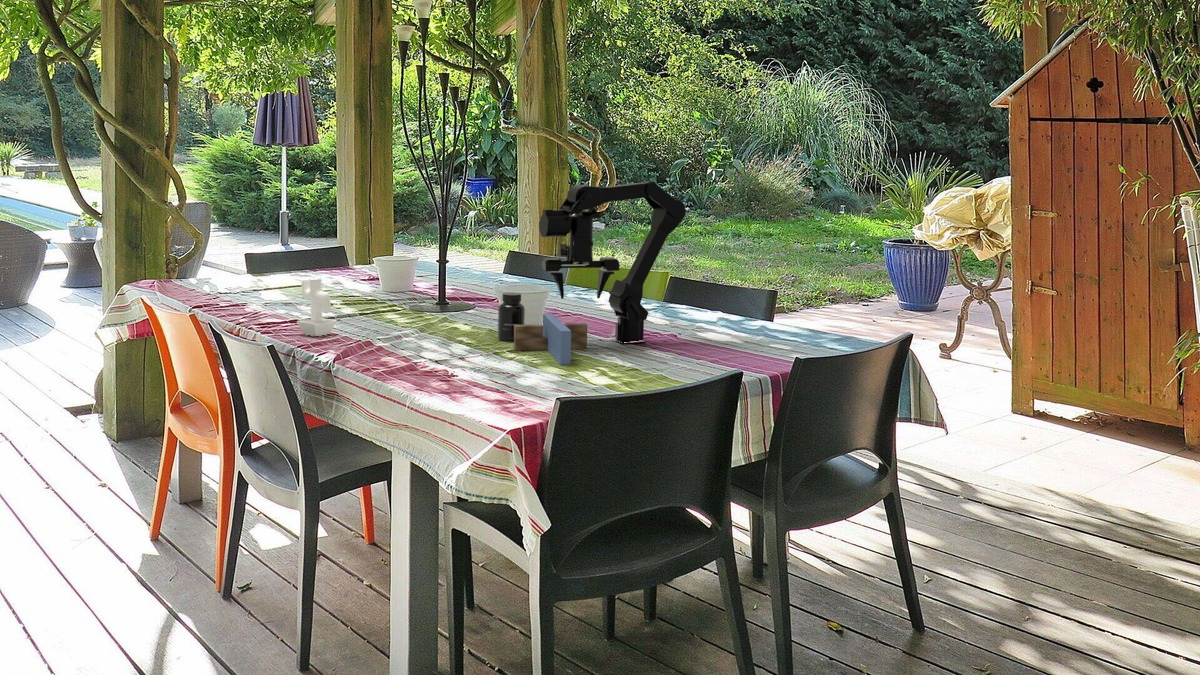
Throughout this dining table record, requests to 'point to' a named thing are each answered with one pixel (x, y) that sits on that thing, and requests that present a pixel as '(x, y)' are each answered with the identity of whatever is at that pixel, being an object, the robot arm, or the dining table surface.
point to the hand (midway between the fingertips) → (580, 298)
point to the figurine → (316, 308)
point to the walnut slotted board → (534, 339)
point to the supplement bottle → (510, 316)
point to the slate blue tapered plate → (557, 339)
